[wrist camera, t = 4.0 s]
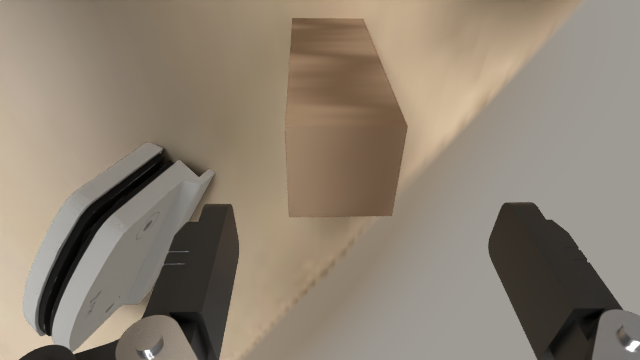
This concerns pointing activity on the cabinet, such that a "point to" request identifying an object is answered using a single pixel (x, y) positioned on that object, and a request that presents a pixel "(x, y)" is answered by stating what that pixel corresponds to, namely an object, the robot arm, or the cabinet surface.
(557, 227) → the robot arm
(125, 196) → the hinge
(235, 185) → the cabinet surface
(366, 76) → the rail post
